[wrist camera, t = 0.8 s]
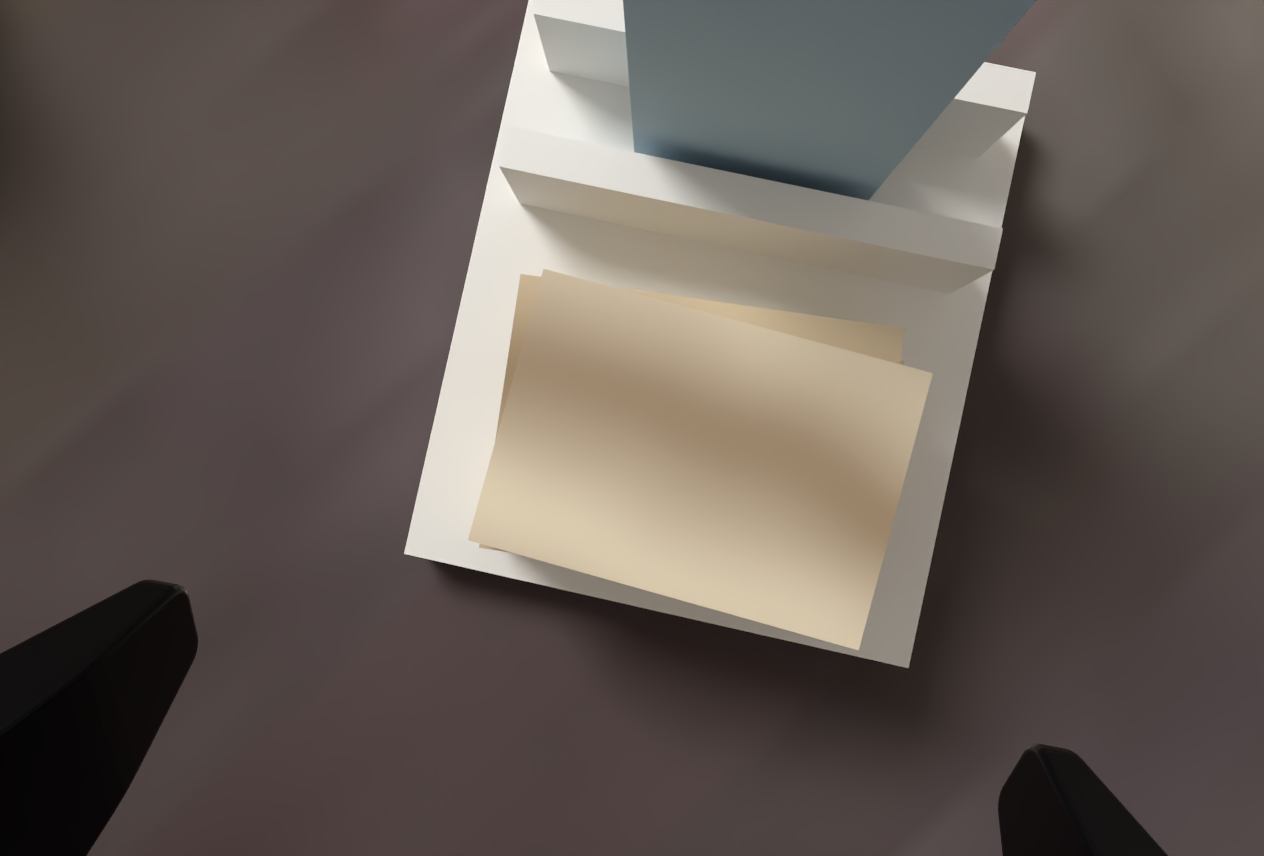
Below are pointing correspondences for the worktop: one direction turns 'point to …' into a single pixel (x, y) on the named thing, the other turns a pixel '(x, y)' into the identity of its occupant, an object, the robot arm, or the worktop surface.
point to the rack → (719, 280)
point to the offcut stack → (703, 450)
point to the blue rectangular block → (802, 81)
